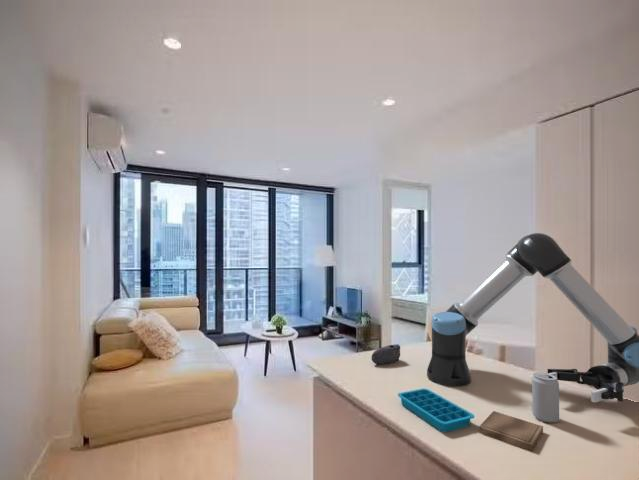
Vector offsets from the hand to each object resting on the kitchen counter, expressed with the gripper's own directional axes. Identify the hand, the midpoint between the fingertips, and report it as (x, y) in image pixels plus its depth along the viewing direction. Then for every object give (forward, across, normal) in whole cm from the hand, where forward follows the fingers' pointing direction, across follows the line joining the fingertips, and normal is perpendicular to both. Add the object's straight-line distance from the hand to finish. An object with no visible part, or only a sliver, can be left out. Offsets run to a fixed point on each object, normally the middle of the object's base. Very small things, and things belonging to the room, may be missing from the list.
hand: (566, 387), depth 100 cm
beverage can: (+10, 0, -7) cm, 12 cm away
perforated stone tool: (+23, +57, -7) cm, 62 cm away
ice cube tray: (+37, +15, -8) cm, 40 cm away
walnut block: (+26, -1, -7) cm, 26 cm away
